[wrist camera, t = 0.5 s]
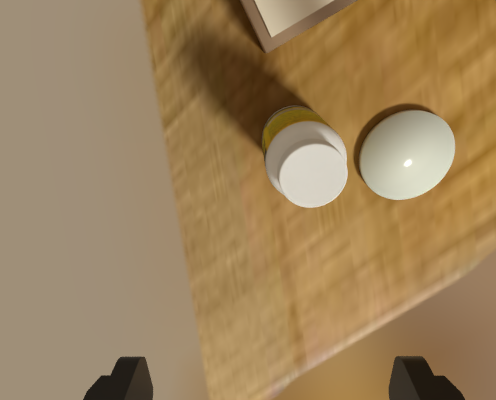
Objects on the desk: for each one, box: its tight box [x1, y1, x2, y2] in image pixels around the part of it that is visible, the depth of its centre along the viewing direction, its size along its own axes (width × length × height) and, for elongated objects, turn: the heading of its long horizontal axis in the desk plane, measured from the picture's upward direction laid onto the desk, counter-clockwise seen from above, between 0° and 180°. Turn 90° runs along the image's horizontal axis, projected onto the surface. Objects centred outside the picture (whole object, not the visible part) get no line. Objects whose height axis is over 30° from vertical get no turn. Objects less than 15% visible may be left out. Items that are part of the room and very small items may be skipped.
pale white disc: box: [359, 110, 455, 200], centre depth 32 cm, size 9×9×1 cm
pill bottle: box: [262, 106, 348, 207], centre depth 27 cm, size 6×6×11 cm
